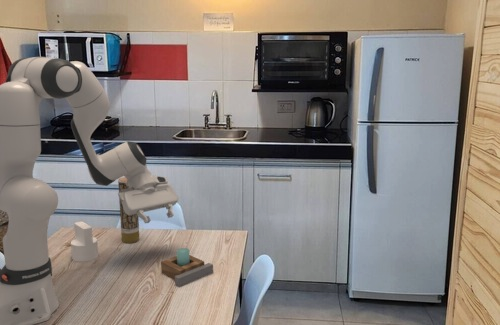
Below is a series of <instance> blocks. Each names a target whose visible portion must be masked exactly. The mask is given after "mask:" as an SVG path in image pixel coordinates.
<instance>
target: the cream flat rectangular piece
mask: <svg viewBox="0 0 500 325" xmlns="http://www.w3.org/2000/svg"><path fill="white" fill-rule="evenodd" d="M213 273H214V264H213V263H210V262H208V263H207V262H206V263H204V265H202V266H200V267H197V268H195V269H192V270H189V271H187V272H184V273H182V274H179V275H177V276H175V280H174V286H176V287H177V288H180V287H183V286H186V285H188V284H190V283H192V282H195V281H198V280H200V279H202V278H205V277H207V276H209V275H211V274H213Z"/></svg>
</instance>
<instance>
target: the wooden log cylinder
mask: <svg viewBox="0 0 500 325" xmlns="http://www.w3.org/2000/svg"><path fill="white" fill-rule="evenodd" d="M117 180H118V181H117V182H118V193H119V192H120V191H121V190H122V189H128V188H129V186H128V184H127V179H126V177H125V176H123V177H120V178H118V179H117ZM120 193H121V192H120ZM118 199H119V216H120V232H121V241H122V242H123V243H125V244H133V243H137V242H138V241H139V240H140V224H139V223H140V222H139V221H140V220H139V217H138V215H137V214H133V215H127V214H126V213H125V211H124V209H123V206H122V202H121V200H120V198H118Z"/></svg>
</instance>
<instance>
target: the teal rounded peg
mask: <svg viewBox="0 0 500 325" xmlns="http://www.w3.org/2000/svg"><path fill="white" fill-rule="evenodd" d="M189 255H190V249H189V248H186V247H182V248H179V249H177V250H176V256H177V265H178V266H181V267H182V266H184V265H187V264H190V258H189Z"/></svg>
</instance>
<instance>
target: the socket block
mask: <svg viewBox="0 0 500 325" xmlns="http://www.w3.org/2000/svg"><path fill="white" fill-rule="evenodd" d="M189 258H190V264H187V265H184V266H182V267H181V266H178V265H177V255H176V256H173V257H170V258H168V259H165V260H162V261H160V266H161V268H160V271H161V274H162V275H164V276H166V277H168V278H170V279H173V280H174V281H175V276H177V275H179V274H182V273H184V272H187V271H189V270H192V269H195V268H197V267H200V266H202V265H205V260H202V259H200V258H197V257H195V256H194V255H190V254H189Z"/></svg>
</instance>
